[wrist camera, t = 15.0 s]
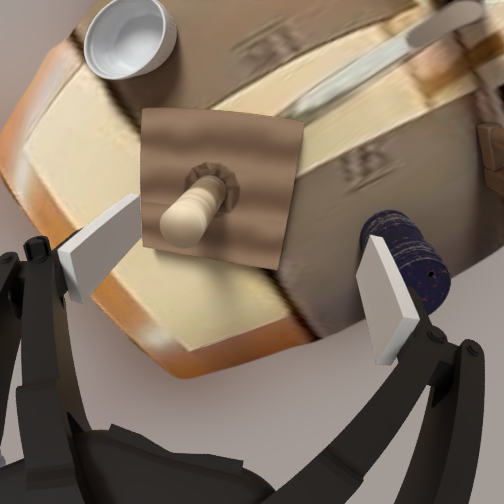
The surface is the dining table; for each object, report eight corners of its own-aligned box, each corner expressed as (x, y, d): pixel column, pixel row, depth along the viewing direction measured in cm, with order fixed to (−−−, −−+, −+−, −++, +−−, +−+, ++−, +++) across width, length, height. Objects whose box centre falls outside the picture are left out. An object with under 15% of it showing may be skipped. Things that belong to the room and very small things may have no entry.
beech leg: (201, 166, 42) (158, 203, 28) (233, 170, 42) (204, 209, 28) (199, 196, 44) (159, 245, 31) (230, 200, 44) (202, 252, 30)
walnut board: (154, 107, 38) (142, 108, 35) (302, 121, 38) (304, 123, 34) (152, 235, 49) (142, 246, 46) (278, 257, 49) (277, 270, 45)
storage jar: (394, 271, 47) (421, 329, 34) (348, 251, 46) (366, 310, 34) (424, 223, 42) (465, 273, 29) (377, 198, 42) (411, 244, 29)
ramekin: (105, 83, 37) (79, 84, 31) (113, 12, 30) (89, 4, 24) (180, 78, 36) (160, 76, 30) (189, 0, 30) (172, -14, 24)
